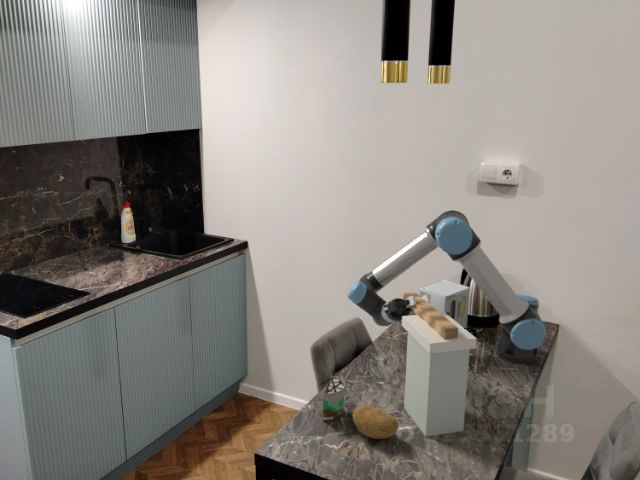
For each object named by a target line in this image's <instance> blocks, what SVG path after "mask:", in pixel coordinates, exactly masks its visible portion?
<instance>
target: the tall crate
mask: <svg viewBox="0 0 640 480" xmlns="http://www.w3.org/2000/svg"><path fill="white" fill-rule="evenodd" d="M440 313H441V314H442V315H443V316H444V317H446V318H447V319H448V320H449V321H450V322H452V323H453V324H454V325H455V326H456V327H458V338H453V339H443V338H442V337H441V336H440V335H439V334H438V333H437V332H436V331H435V330H434V329H432V328H431V327H430V326H429V325H428V324H427V323H426V322H425V321H424V320H423V319H421V318H420V317H419V316H418V315H417V314H414V315H413V314H412V315H408V316H402V320H401V326H402V328H403V329H404V330H406V332H407V341H406V342H407V345H406V361H405V362H406V363H405V367H406V368H405V384H404V385H405V386H404V402H403V403H404V404H403V407H404V408H403V409H404V410H405V411H406V412H407V414H408V416H409V417H410V418H411V420H412V421H413V422H414V423H415V424H416V426H417V427H418V429H419V430H420V432H421V433H422V434H423V436H424V437H426V438H427V437H432V436H440V435H445V434H446V435H447V434H452V433H460V432H464V427H465V413H466V402H467V388H468V377H469V376H468V374H469V363H470V362H469V361H470V353H471V352H470V351H471V350H472V349H476V348H477V340H478V339H477V337H476V336H474V335H473V334H472V333H470V332H469V331H468V330H467V328H465V329H464V328H463V327H462V326H461V325H460V324H458V323H457V322H456V321H455V320H453V319H452V318H451V317H450V316H448V315H447V314H446V313H445V312H440Z"/></svg>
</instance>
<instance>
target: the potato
mask: <svg viewBox="0 0 640 480" xmlns="http://www.w3.org/2000/svg"><path fill="white" fill-rule="evenodd" d="M352 421H353V423H354V425H355V427H356V429H357V431H358V432H359V433H361V434H362V435H363V436H366V437H368V438H370V439H374V440H384V439H388V438H390V437H392V436H394V435H395V434H397V431H398V430H399V422H398V421H397V419H396V418H395V417H394V416H393V415H392V414H390V413H387V412H386V411H384V410H382V409H379V408H376V407H374V406H370V405H367V404H362V405H359V406H357V407H356V408H355V409H354V410H353V411H352Z"/></svg>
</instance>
